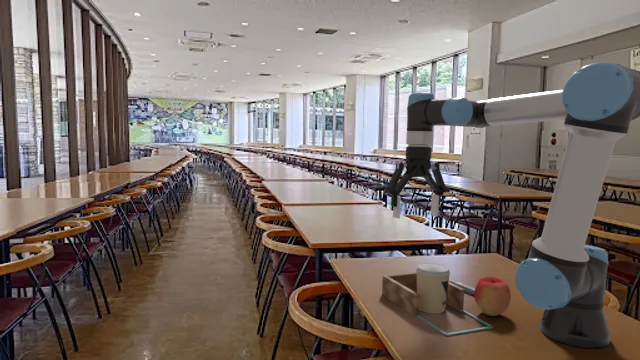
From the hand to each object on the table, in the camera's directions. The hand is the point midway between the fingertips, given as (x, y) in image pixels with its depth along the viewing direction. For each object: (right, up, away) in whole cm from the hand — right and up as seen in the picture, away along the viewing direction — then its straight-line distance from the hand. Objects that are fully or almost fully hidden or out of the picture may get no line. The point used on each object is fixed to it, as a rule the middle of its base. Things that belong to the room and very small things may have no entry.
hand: (415, 216), depth 134 cm
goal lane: (+6, -26, -17) cm, 32 cm away
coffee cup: (+3, -26, -8) cm, 27 cm away
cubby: (+1, -25, -3) cm, 25 cm away
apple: (+19, -26, -11) cm, 34 cm away
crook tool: (+17, -25, +4) cm, 30 cm away
